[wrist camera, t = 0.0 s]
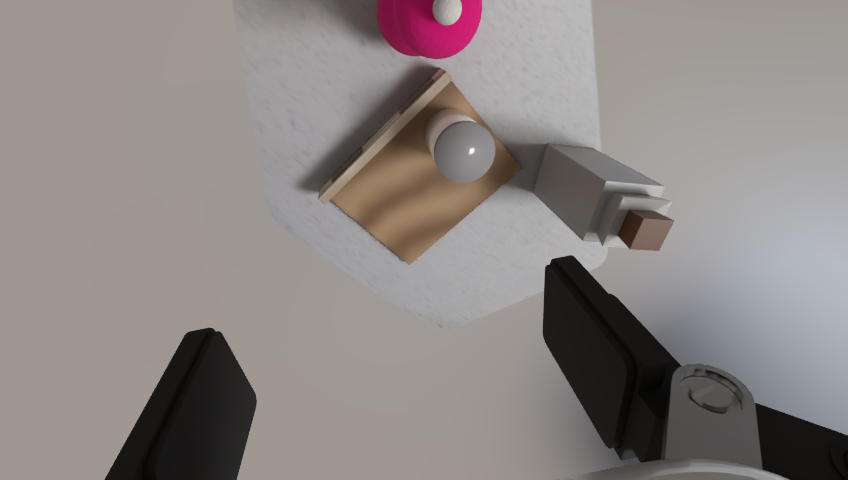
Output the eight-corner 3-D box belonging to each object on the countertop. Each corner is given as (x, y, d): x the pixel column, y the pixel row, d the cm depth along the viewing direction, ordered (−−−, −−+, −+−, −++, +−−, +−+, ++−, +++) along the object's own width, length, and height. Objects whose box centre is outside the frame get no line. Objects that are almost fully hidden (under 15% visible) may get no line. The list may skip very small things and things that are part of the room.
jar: (412, 133, 45) (422, 153, 38) (452, 95, 43) (470, 109, 36) (446, 169, 47) (461, 194, 40) (484, 134, 46) (506, 154, 39)
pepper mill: (367, 39, 40) (374, 51, 23) (386, -41, 37) (410, -96, 20) (431, 63, 42) (481, 90, 25) (454, -11, 39) (530, -38, 22)
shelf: (319, 186, 47) (316, 197, 44) (438, 66, 42) (444, 69, 39) (408, 261, 54) (411, 275, 51) (519, 165, 50) (529, 175, 47)
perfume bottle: (532, 192, 52) (606, 263, 36) (547, 143, 49) (634, 199, 33) (577, 195, 53) (666, 266, 38) (594, 148, 50) (699, 204, 35)
